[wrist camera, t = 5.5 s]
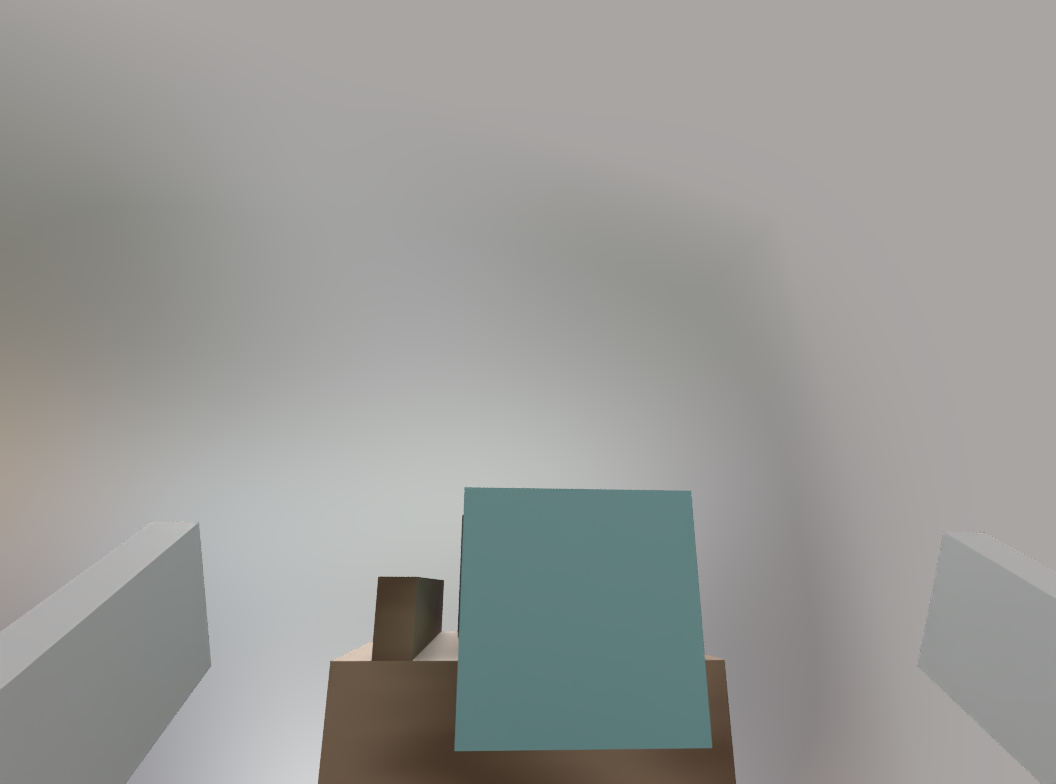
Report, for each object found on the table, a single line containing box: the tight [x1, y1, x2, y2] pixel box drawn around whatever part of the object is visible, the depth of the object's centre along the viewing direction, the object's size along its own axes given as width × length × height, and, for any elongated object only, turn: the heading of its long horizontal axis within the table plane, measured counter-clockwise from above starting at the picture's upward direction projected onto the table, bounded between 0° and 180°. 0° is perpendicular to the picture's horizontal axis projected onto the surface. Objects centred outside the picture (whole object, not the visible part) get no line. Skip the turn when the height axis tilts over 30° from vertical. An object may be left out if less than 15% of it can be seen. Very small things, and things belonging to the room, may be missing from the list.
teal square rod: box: [454, 487, 712, 751], centre depth 17 cm, size 4×20×4 cm, turn 4°
